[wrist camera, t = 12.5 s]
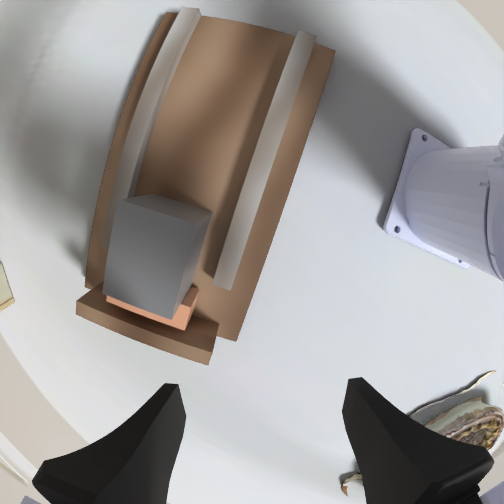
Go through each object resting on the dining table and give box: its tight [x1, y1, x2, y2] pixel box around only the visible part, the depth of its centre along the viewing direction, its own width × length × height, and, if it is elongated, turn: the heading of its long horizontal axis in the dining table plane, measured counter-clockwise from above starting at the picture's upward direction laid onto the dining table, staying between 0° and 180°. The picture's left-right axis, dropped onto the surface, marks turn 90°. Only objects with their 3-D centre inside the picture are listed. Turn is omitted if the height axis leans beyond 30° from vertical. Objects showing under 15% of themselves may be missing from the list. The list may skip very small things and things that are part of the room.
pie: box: [342, 371, 504, 496], centre depth 24 cm, size 28×27×5 cm
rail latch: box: [106, 287, 200, 331], centre depth 17 cm, size 5×2×3 cm, turn 72°
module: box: [102, 194, 213, 320], centre depth 15 cm, size 4×5×5 cm
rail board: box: [76, 7, 335, 365], centre depth 15 cm, size 12×21×5 cm, turn 162°
